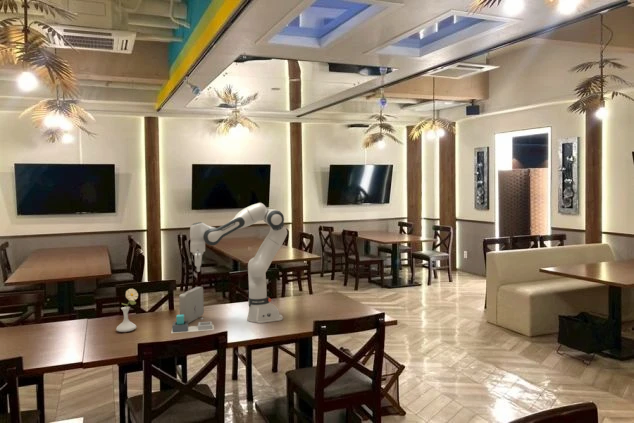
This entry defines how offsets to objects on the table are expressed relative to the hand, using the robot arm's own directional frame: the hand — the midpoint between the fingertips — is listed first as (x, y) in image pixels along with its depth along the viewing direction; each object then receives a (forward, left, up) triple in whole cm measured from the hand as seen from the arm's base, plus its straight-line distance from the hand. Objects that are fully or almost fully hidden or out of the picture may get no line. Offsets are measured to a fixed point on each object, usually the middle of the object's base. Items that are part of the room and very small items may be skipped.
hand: (198, 271), depth 300 cm
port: (+11, +13, -32) cm, 36 cm away
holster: (-3, +13, -32) cm, 34 cm away
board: (+4, +13, -33) cm, 36 cm away
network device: (+5, -8, -33) cm, 35 cm away
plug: (+11, +13, -32) cm, 36 cm away
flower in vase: (+42, 0, -33) cm, 54 cm away
